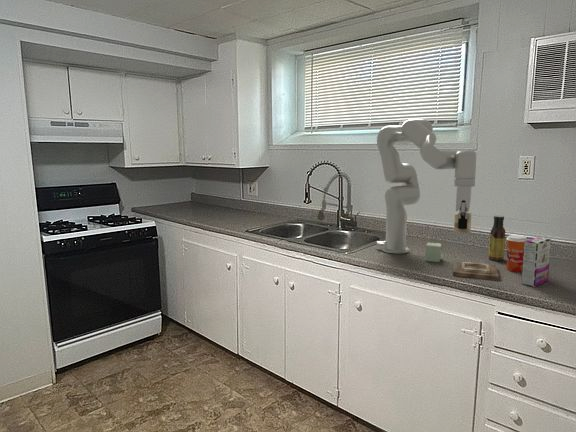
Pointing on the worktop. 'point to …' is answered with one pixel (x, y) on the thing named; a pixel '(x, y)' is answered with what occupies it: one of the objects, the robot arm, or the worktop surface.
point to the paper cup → (515, 252)
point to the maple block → (467, 224)
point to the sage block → (433, 252)
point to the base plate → (475, 270)
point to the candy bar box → (536, 261)
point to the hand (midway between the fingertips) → (462, 226)
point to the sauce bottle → (497, 239)
